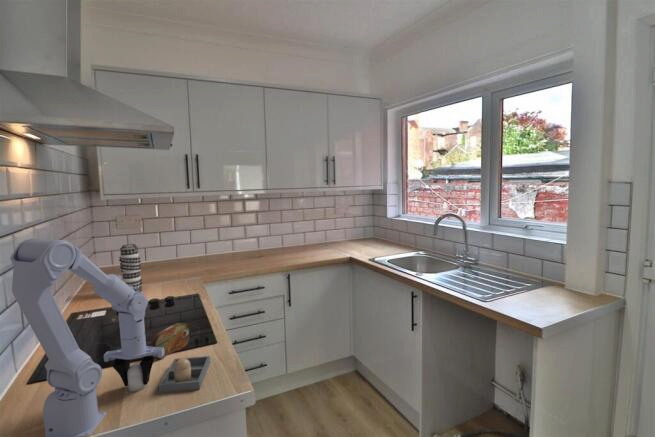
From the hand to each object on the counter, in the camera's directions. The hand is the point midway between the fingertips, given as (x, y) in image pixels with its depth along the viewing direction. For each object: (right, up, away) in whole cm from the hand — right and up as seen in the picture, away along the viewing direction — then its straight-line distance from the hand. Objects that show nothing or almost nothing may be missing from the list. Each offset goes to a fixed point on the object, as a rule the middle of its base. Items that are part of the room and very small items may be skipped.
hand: (137, 383), depth 95 cm
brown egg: (+12, -1, +1) cm, 12 cm away
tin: (0, +1, +20) cm, 20 cm away
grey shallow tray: (+12, -1, +5) cm, 12 cm away
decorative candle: (-46, +7, +81) cm, 93 cm away
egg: (0, -1, 0) cm, 1 cm away
